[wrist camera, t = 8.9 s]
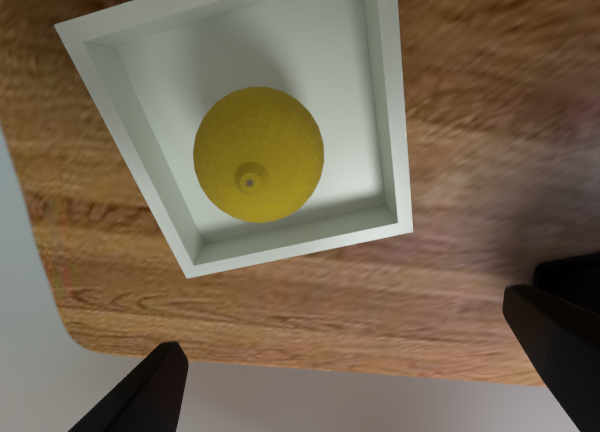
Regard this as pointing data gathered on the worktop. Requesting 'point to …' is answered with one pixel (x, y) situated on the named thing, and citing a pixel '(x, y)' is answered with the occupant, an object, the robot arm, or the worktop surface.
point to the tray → (238, 75)
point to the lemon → (258, 154)
